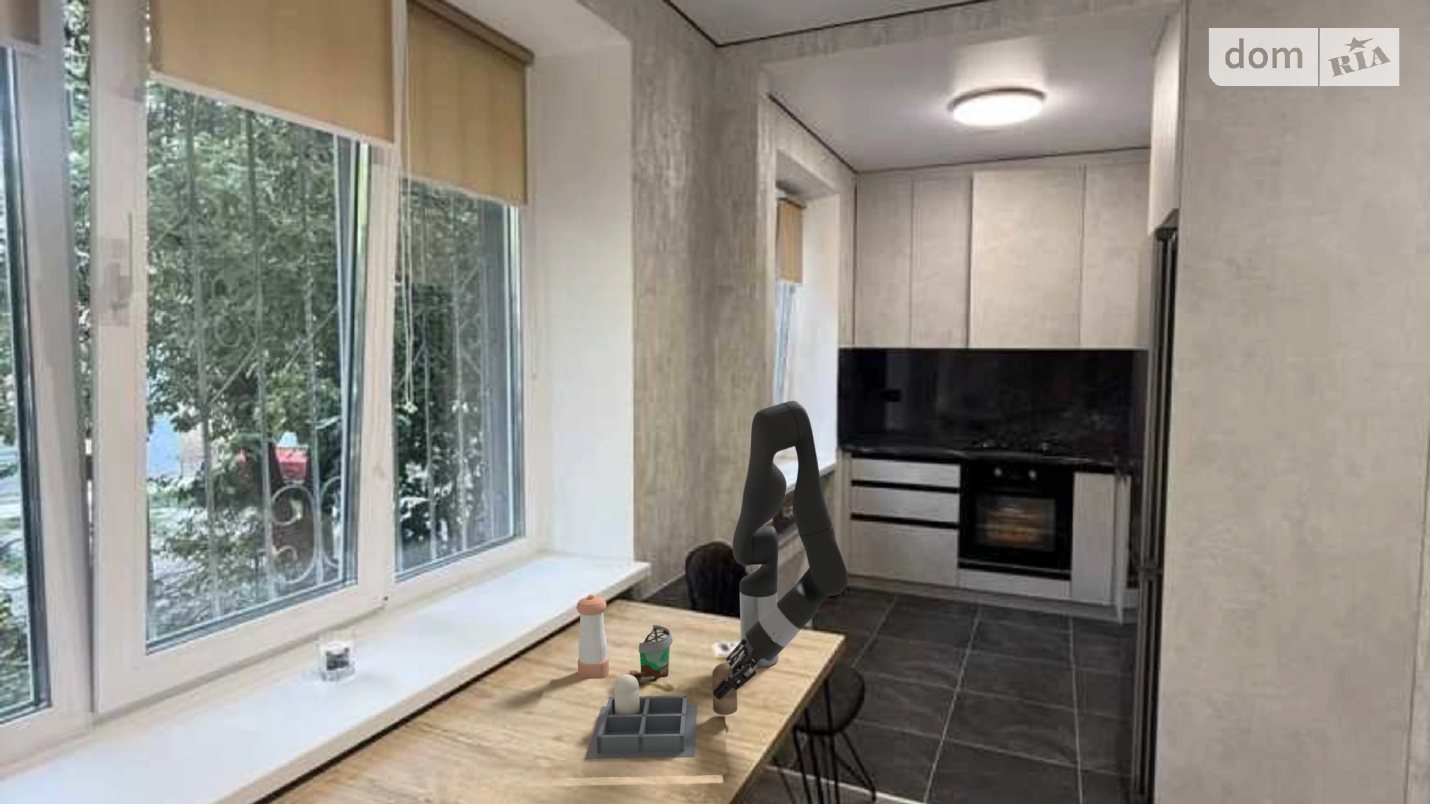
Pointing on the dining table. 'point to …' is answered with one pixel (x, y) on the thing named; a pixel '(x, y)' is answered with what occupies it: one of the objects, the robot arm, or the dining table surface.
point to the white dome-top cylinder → (627, 696)
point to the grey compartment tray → (646, 730)
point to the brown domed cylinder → (730, 699)
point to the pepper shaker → (592, 639)
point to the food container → (655, 653)
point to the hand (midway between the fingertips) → (715, 689)
